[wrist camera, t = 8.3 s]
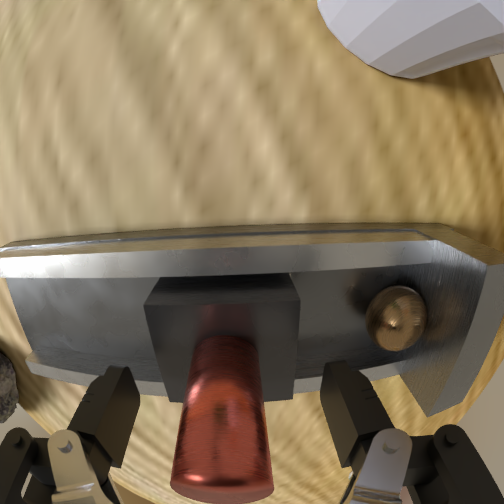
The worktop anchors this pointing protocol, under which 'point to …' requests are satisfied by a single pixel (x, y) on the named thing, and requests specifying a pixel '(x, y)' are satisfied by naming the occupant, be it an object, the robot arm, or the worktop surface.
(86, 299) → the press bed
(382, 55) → the soap bottle
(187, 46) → the worktop surface
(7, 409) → the mineral rock
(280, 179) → the worktop surface
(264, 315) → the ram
